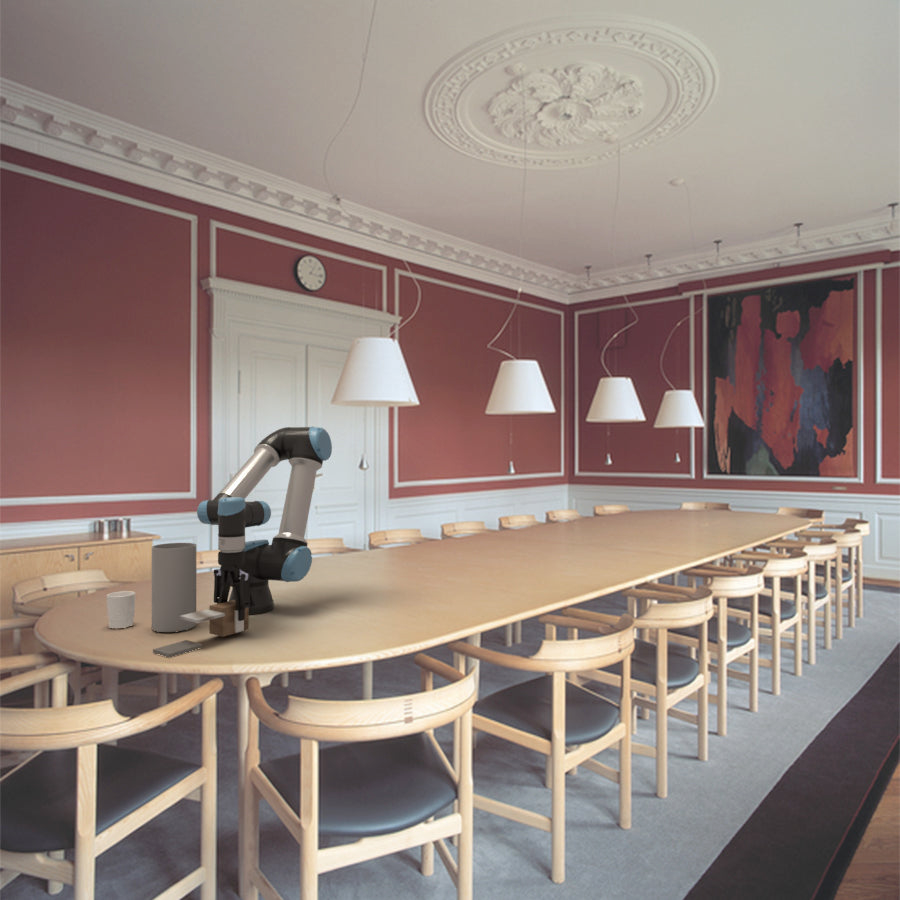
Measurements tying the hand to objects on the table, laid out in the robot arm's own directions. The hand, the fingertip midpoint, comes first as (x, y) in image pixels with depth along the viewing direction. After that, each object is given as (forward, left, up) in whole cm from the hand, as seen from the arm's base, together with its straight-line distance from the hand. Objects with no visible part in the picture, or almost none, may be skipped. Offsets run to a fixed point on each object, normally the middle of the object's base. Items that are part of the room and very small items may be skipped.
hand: (231, 629), depth 191 cm
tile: (0, -13, -1) cm, 13 cm away
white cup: (-36, -13, -2) cm, 38 cm away
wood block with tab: (0, -5, 0) cm, 5 cm away
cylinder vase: (-21, -5, -2) cm, 22 cm away
